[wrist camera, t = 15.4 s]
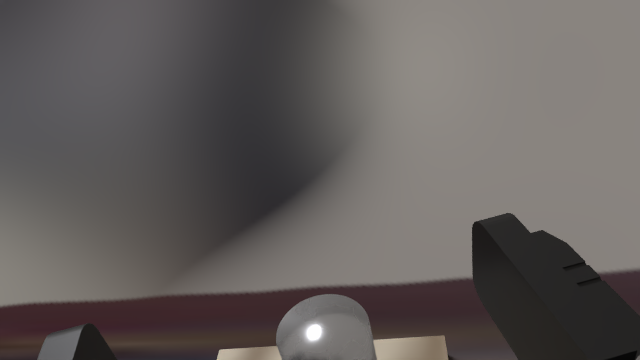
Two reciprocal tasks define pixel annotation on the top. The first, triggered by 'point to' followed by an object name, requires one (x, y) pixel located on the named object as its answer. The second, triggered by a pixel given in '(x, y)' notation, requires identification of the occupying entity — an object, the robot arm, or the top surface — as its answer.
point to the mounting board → (392, 354)
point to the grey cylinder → (326, 330)
